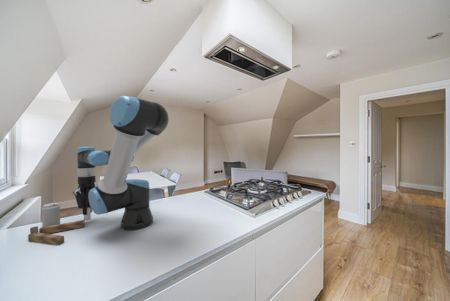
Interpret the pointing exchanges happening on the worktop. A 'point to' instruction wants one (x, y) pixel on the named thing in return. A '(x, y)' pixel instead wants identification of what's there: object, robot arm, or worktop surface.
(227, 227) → the worktop surface
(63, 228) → the bar
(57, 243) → the bar
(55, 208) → the beverage can
